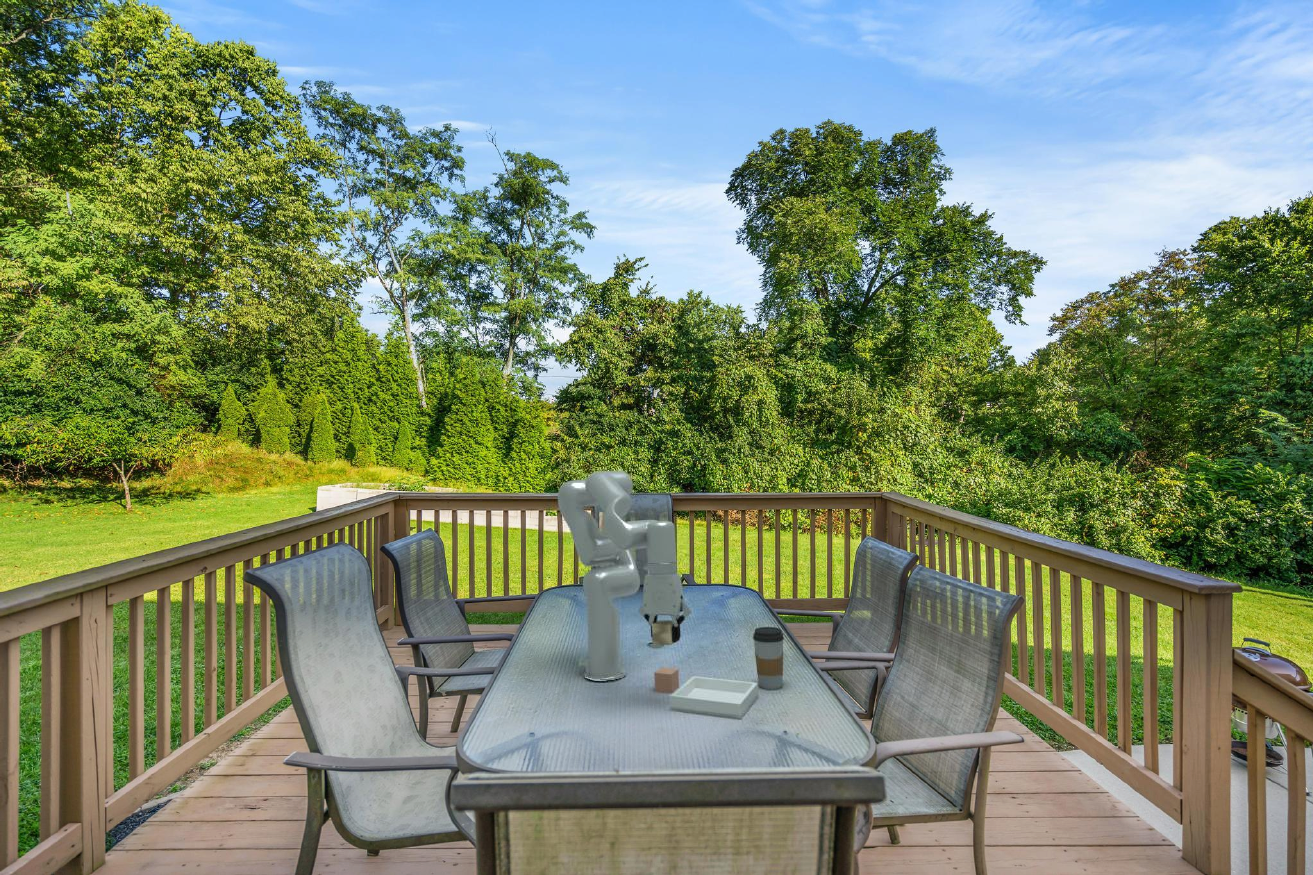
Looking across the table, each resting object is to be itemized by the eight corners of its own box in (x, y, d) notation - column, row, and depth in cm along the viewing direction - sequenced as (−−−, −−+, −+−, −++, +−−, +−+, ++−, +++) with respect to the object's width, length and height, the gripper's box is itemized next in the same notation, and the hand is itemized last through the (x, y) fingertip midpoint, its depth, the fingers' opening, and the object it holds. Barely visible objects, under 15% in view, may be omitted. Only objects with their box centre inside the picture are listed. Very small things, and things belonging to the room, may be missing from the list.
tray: (670, 710, 155) (670, 695, 155) (693, 689, 170) (693, 676, 170) (740, 719, 148) (740, 704, 148) (758, 696, 162) (757, 682, 162)
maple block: (652, 643, 159) (651, 623, 160) (661, 639, 164) (660, 619, 164) (670, 645, 157) (669, 624, 158) (678, 640, 162) (677, 620, 162)
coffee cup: (786, 691, 165) (783, 634, 166) (754, 690, 167) (751, 633, 168) (786, 681, 173) (783, 626, 174) (755, 680, 175) (753, 626, 176)
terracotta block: (655, 691, 169) (654, 672, 170) (662, 685, 174) (661, 667, 174) (672, 693, 167) (671, 674, 168) (678, 687, 172) (678, 668, 172)
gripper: (626, 570, 162) (629, 642, 161) (687, 571, 155) (691, 646, 153) (639, 567, 169) (643, 635, 167) (698, 567, 162) (702, 639, 160)
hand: (665, 640), depth 160 cm, fingers closed on maple block, 5 cm apart
